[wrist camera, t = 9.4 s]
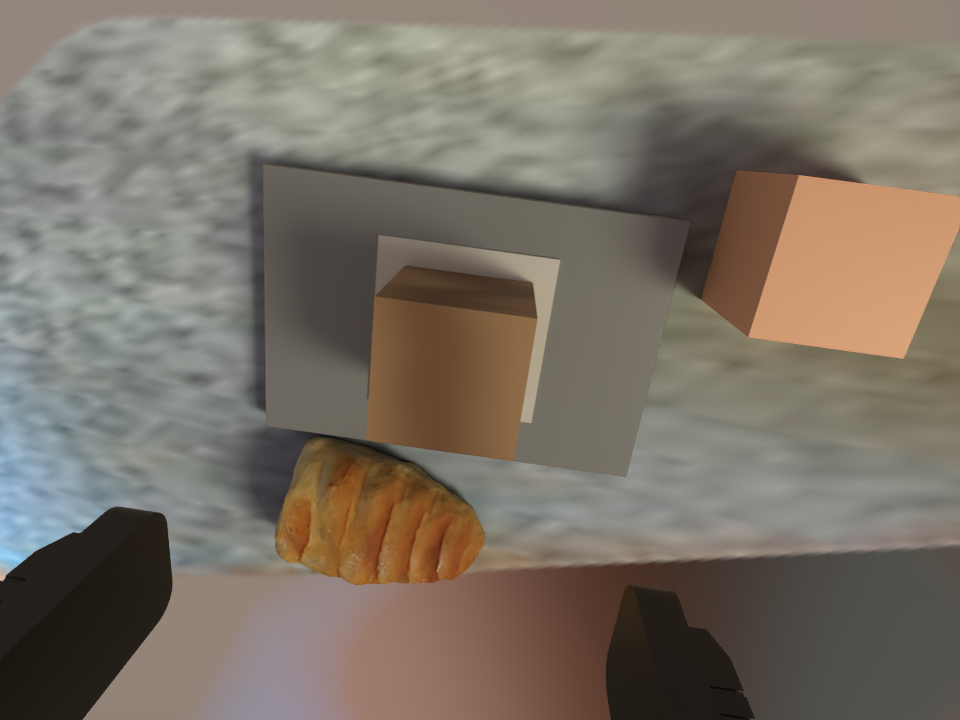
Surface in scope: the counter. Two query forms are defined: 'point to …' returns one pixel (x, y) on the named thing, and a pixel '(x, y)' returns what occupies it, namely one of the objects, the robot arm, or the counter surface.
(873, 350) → the terracotta block
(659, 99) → the counter surface
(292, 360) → the plate
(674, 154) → the counter surface
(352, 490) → the pastry
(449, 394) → the walnut block
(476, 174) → the counter surface
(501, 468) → the counter surface
